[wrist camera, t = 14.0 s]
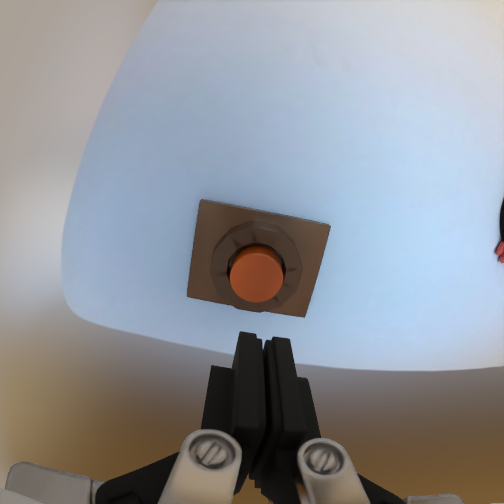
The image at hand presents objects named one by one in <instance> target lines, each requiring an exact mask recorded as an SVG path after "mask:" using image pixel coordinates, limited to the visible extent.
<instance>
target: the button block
mask: <svg viewBox="0 0 504 504" xmlns="http://www.w3.org/2000/svg"><path fill="white" fill-rule="evenodd" d="M330 228H331V226H330V225H329V224H325V223H320V222H316V221H311V220H306V219H302V218H297V217H292V216H287V215H283V214H278V213H273V212H268V211H263V210H258V209H252V208H247V207H242V206H237V205H231V204H226V203H220V202H215V201H209V200H203V199H202V200H200V204H199V210H198V217H197V223H196V230H195V237H194V244H193V251H192V258H191V266H190V273H189V281H188V290H187V297H190V298H195V299H200V300H205V301H210V302H215V303H221V304H226V305H231V306H234V307H235V308H237V309H241V310H246V311H252V312H259V313H260V312H263V311H266V312H272V313H278V314H284V315H291V316H297V317H304V318H305V316H306V313H307V309H308V306H309V303H310V299H311V296H312V293H313V289H314V286H315V283H316V279H317V276H318V272H319V269H320V265H321V261H322V258H323V254H324V250H325V247H326V243H327V239H328V235H329V231H330ZM253 246H259V247H264V248H267V249H269V250H271V251H272V252H273V253H274V254H275V255H276V256H277V257H278V259H279V261H280V264H281V268H282V272H283V283H282V286H281V288H280V290H279V292H278V293H277V294H276V295H275V296H274V297H272V298H271V299H269V300H267V301H264V302H249V301H246V300H244V299H242V298H240V297H239V296H238V295H237V294H236V293H235V292H234V290H233V289H232V287H231V284H230V271H231V266H232V263H233V260H234V258H235V257H236V255H237V254H238V253H239V252H241V251H242V250H244V249H246V248H248V247H253Z"/></svg>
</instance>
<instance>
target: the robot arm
mask: <svg viewBox="0 0 504 504" xmlns="http://www.w3.org/2000/svg"><path fill="white" fill-rule="evenodd" d="M248 473H249V479H251V480H255V488H261V494H263V495H264V496H265V497H267V498H268V504H464V501H463V500H462V499H461V498H460V496H458V495H455V494H443V495H432V496H414V497H406V498H405V499H401V498H399V497H398V496H396V495H394V494H393V493H391V492H389V491H387V490H385V489H383V488H382V487H380V486H378V485H376V484H375V483H373V482H371V481H369V480H368V479H366V478H364V477H363V476H361V475H359V474H358V473H356V471H355V468H354V466H353V464H352V462H351V460H350V458H349V455H348V453H347V452H346V450H345V449H344V448H343V447H342V446H341V445H340V444H338V443H336V442H334V441H332V440H329V439H325V438H321V435H320V430H319V426H318V421H317V417H316V412H315V408H314V403H313V399H312V394H311V390H310V386H309V382H308V379H307V378H302V377H297V374H296V369H295V363H294V358H293V353H292V348H291V343H290V339H288V338H280V337H273V338H272V340H266V342H265V345H264V348H263V347H262V339H258V338H257V336H256V334H254V333H247V332H241V331H240V333H239V337H238V342H237V346H236V351H235V355H234V360H233V365H232V369H231V368H225V367H219V366H214V365H212V366H211V371H210V377H209V382H208V388H207V394H206V400H205V407H204V412H203V419H202V425H201V430H199V431H196V432H193V433H192V434H191V435H189V436H188V437H187V438H186V440H185V441H184V443H183V445H182V447H181V450H180V451H179V452H177V453H175V454H173V455H170V456H168V457H166V458H164V459H161V460H159V461H157V462H155V463H152V464H150V465H148V466H145V467H143V468H140V469H138V470H135V471H133V472H130V473H127V474H125V475H122V476H119V477H117V478H114V479H111V480H109V481H107V482H102V481H95V480H92V479H91V478H90V477H86V476H81V475H76V474H71V473H67V472H63V471H59V470H55V469H51V468H47V467H43V466H40V465H37V464H33V463H30V462H19V463H16V464H14V465H13V466H12V467H11V468H10V470H9V472H8V476H7V480H6V485H5V489H3V488H0V504H231V501H232V497H233V496H234V495H235V494H237V493H238V492H240V490H241V487H242V485H243V483H244V481H245V479H246V477H247V475H248ZM493 504H504V503H493Z"/></svg>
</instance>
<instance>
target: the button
mask: <svg viewBox="0 0 504 504" xmlns="http://www.w3.org/2000/svg"><path fill="white" fill-rule="evenodd" d="M282 283H283V272H282V268H281V264H280V261H279V259H278V257H277V256H276V255H275V254H274V253H273V252H272V251H271V250H269V249H267V248H264V247H259V246H253V247H248V248H246V249H244V250H242V251H241V252H239V253H238V254H237V255H236V257H235V258H234V260H233V263H232V266H231V271H230V284H231V287H232V289H233V290H234V292H235V293H236V294H237V295H238V296H239V297H240V298H242V299H244V300H246V301H249V302H264V301H267V300H269V299H271V298H272V297H274V296H275V295H276V294H277V293H278V292H279V290H280V288H281V286H282Z"/></svg>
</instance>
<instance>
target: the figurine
mask: <svg viewBox="0 0 504 504" xmlns="http://www.w3.org/2000/svg"><path fill="white" fill-rule="evenodd" d="M500 230H501V237H502V242H501V243H500V245H499V247H498V248H497V250H496V253H497V255H499V256H500V255H501V254H502V253H503V254H502V255H501V256H500V262H501V263H504V252H503V251H504V201H503V205H502V210H501V216H500Z"/></svg>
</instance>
